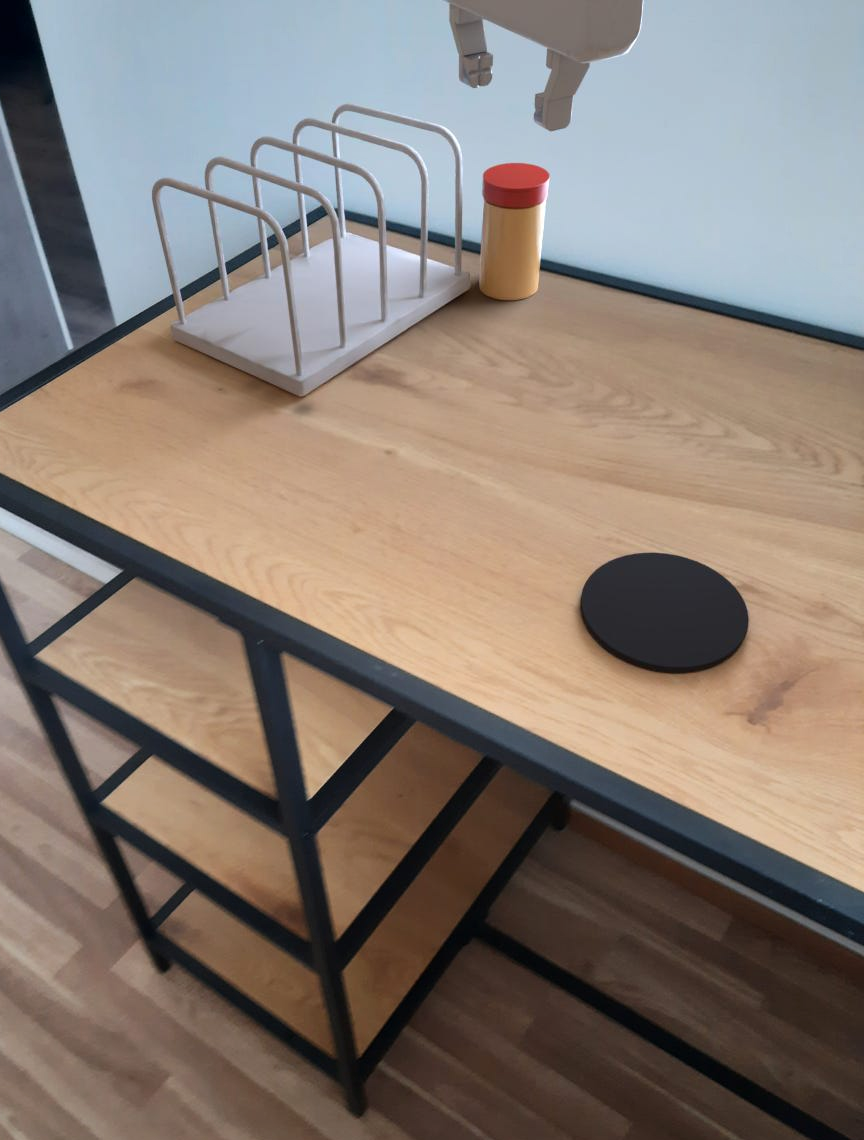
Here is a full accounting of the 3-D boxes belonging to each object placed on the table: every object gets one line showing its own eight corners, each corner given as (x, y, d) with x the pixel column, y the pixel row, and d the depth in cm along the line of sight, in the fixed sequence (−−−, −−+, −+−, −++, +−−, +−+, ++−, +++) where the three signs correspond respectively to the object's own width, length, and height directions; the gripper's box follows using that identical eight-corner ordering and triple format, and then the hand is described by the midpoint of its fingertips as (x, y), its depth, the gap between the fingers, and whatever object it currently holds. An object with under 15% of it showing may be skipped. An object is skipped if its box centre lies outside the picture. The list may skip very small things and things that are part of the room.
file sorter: (344, 247, 103) (334, 90, 92) (471, 292, 95) (478, 126, 84) (171, 340, 90) (135, 171, 79) (302, 401, 82) (283, 222, 71)
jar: (524, 269, 98) (532, 164, 91) (547, 294, 94) (558, 187, 87) (470, 278, 97) (474, 172, 90) (491, 304, 93) (498, 196, 86)
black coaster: (693, 544, 68) (695, 538, 68) (780, 650, 61) (782, 644, 60) (553, 578, 66) (554, 571, 66) (626, 691, 59) (627, 685, 58)
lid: (532, 177, 92) (533, 159, 91) (558, 201, 88) (560, 182, 86) (472, 186, 91) (473, 168, 89) (496, 211, 87) (497, 192, 85)
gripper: (698, -166, 45) (650, 145, 55) (483, -201, 57) (476, 55, 67) (587, -150, 43) (559, 167, 53) (390, -190, 56) (398, 71, 66)
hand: (511, 104), depth 60 cm, fingers open, 8 cm apart
